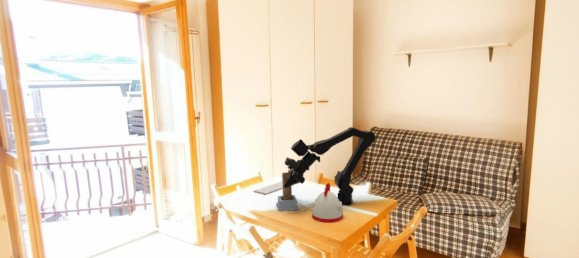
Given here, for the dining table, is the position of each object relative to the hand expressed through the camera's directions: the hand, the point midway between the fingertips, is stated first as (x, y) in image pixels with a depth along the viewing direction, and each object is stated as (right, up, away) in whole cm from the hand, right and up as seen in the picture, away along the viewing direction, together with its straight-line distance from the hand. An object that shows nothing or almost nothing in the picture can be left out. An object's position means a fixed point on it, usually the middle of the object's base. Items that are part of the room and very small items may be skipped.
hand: (284, 186), depth 158 cm
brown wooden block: (+2, -7, +1) cm, 7 cm away
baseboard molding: (-5, -8, +37) cm, 38 cm away
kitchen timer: (+20, -12, -12) cm, 26 cm away
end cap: (+2, -10, +1) cm, 11 cm away
